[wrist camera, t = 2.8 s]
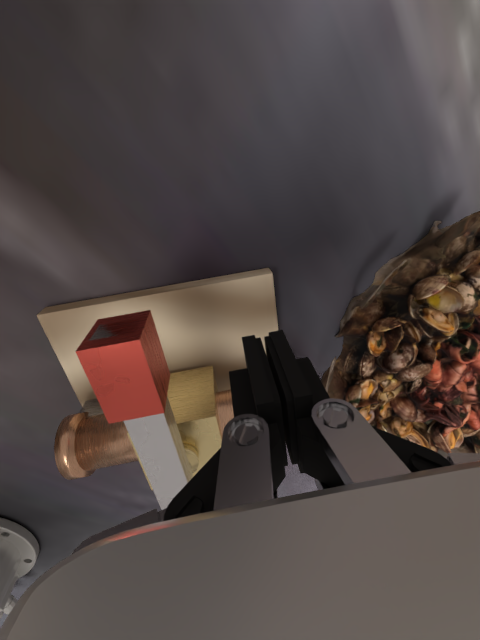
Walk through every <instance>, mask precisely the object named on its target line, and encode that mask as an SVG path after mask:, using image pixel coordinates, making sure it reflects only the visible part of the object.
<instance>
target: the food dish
mask: <svg viewBox="0 0 480 640" xmlns="http://www.w3.org/2000/svg"><path fill="white" fill-rule="evenodd" d="M441 223H442V222H441V221H434V224H433V226H432V228H431V229H430V231H429V233H428V235H426V236H425V237H424V238H423V239H421V240H420V241H419V242H418V243H416V244H415V245H413V246H411V247H410V248H409V249H408V250H407V251H405V252H404V253H402V254H401V255H399V256H397V257H394V258H392V259H390V260H389V261H388V262H387V264H384V266H382V267H381V269H379V270H378V271H377V272H376V273H375V279H374V282H373V284H372V285H371V286H370V287H369V288H368V289H367V290H366V291H365V292H364V293H362V294H360V295H359V296H356V297H354V298H353V299H352V300H351V302H350V303H349V305H348V308H347V310H346V313H345V315H344V317H343V318H342V320H341V322H340V331H339V333H338V334H337V335H336V336H335V337H341V336H344V341H343V342H344V343H343V349H342V352H341V355H340V356H339V357H338V359H337V360H336V357H335V358H334V359H333V361H332V364H331V366H330V367H329V368H328V370H327V371H325V373H324V374H323V377H322V380H321V382H322V384H323V386H324V388H325V389H326V391H327V393H328V395H329V397H330V398H334V399H341V400H345V401H347V402H349V403H351V404H352V405H353V406H354V407H355V408H356V409H357V410H358V411H359V412H360V413H361V414H362V416H363V417H364V418H365V419H366V420H367V421H368V423H369V424H370V425H371V426H373V427H375V428H378V429H381V430H383V431H386V432H388V433H391V434H393V435H396V436H398V437H401V438H403V439H406V440H408V441H411V442H413V443H416V444H419V445H421V446H424V447H426V448H429V449H431V450H433V451H435V452H437V453H439V454H441V455H442V456H444V457H447V456H448V453H480V211H478V212H476V213H473V214H471V215H470V216H467V217H465V218H464V219H461V220H460V221H459V222H456V223H455V224H453V225H451V226H446V227H445V228H442V229H438V227H437V225H438V224H441Z"/></svg>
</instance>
